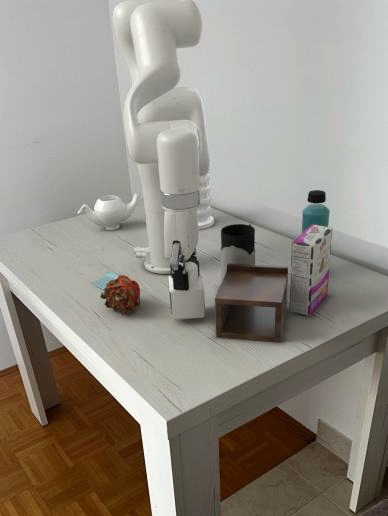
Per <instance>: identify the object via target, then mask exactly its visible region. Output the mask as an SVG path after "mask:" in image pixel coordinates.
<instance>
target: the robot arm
mask: <svg viewBox="0 0 388 516" xmlns="http://www.w3.org/2000/svg"><path fill="white" fill-rule="evenodd" d="M202 20H203V19H202V15H201V11H200V10H199V8H198V5H197V4H196V2H195V1H194V0H125V1H122V2H120V3H118V4H116V6H115V7H114V9H113V12H112V26H113V31H114V36H115V40H116V43H117V46H118V47H119V51H120V53H121V55H122V58H123V59H124V62H125V64H126V65H127V68H128V71H129V75H130V80H131V87H130V89H129V90H128V93H127V95H126V97H125V101H124V104H123V111H122V113H123V114H122V116H123V117H122V118H123V127H124V132H125V133H124V135H125V140H126V146H127V150H128V154H129V156H130V158H131V160H132V161H133V162H134V163H136V167H137V170H138V176H139V180H140V183H141V184H140V185H141V190H142V197H143V206H144V214H145V215H144V216H145V226H146V233H147V245H148V246H146V247H141V246H139V247H138V246H135V247H134V250H133V252H134V255H135V257H136V258H140V259H141V258H142V259H143V258H144V261H143V265H144V268H145V270H147V271H149V272H151V273H154V274H160V275H171V270H170V263H171V266H172V267H171V268H172V276H173V289H174V290H184V291H188V290H189V277H188V272H186V271H187V260H188V259H189V258H190V257H192V258H195V259H197V260H198V257H197V248H196V247H197V246H198V242H199V230H198V219H197V208H199V207H200V179H199V176H203V175H205V174H206V173H207V172H208V170H210V169H209V167H210V162H211V154H210V153H211V152H210V145H209V137H208V129H207V119H206V111H205V106H204V101H203V97H202V95H201V93H200V91H199V90H198V89H197V88H195V87H193V86H179V87H178V86H177V85H178V84H179V82H180V80H181V79H182V78H181V77H182V69H181V64H180V59H179V54H178V49H185V48H196V47H198V46H199V44H200V43H201V42H202V41H201V40H202V37H203V21H202ZM179 257H184V258H179ZM179 261H183V267H182V265H181V264H179Z"/></svg>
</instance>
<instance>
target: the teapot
mask: <svg viewBox="0 0 388 516" xmlns="http://www.w3.org/2000/svg"><path fill="white" fill-rule="evenodd" d="M140 196H141V192H134V193H133V197H132V200H131V201H130V202H129V203H127V204H125V202H124V201H123V200H122V199H121V197H119V196H118V195H115V194H107V195H102V196H99V197H98V198H97V199H96V202H95V204H94V206H93V210H92V209H91V208H90V206H88V204H82V205H81V207H80V208H79V210H78V211H77V212H76V213H77V214H81V213H83V211H85V214H86V216H87V218H88V219H89V220H90V221H91V222H92V223H93V224H95V225H97V226H99V227H103V228H104V229H105V230H107V231H115V230H118V229H120V228H121V223H122V222H125V221H127V220H128V219H129V218H130V217H131V216H132V214H133V212H134V211H135V209H136V206H137V205H138V202H139V199H140Z"/></svg>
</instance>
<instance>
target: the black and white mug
mask: <svg viewBox="0 0 388 516" xmlns="http://www.w3.org/2000/svg"><path fill="white" fill-rule="evenodd" d="M255 232H256V229H255V228H254V227H253V226H252V223H251V222H246V224H245V223H233V224H229V225H226V226H223V227H222V228H221V229H220V244H221V246H220V276H221V277H220V279H221V280H220V281H221V282H220V284H221V283H222V281H223V278H224V276H225V274H226V271H227V264H248V265H256V248H255V247H256V246H255V245H256V236H255V235H256V233H255Z"/></svg>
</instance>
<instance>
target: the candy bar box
mask: <svg viewBox="0 0 388 516" xmlns="http://www.w3.org/2000/svg"><path fill="white" fill-rule="evenodd" d="M301 233H302V232H301ZM301 233H300V234H299V235H298V236H297V237H296V238H295V239H294V240H293V241H292V242H291V253H290V254H291V256H290V257H291V258H290V289H289V312H290V313H293V314H297V315H302V316H306V317H310V316H311V315H312V314H314V312H315V310H316V309H317V308H318V307H319V306H320V305H321V303H322V302H323V301H324V300H325V298H327V296H328V294H329V293H328V292H329V281H330V280H329V278H330V267H331V253H332V252H331V251H332V239H333V227H332V226H328V227H327V226H321V225H319V226H318V225H311V226H310V227H309V228H308V229H307V230H305V231H304V232H303V233H302V234H301Z"/></svg>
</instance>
